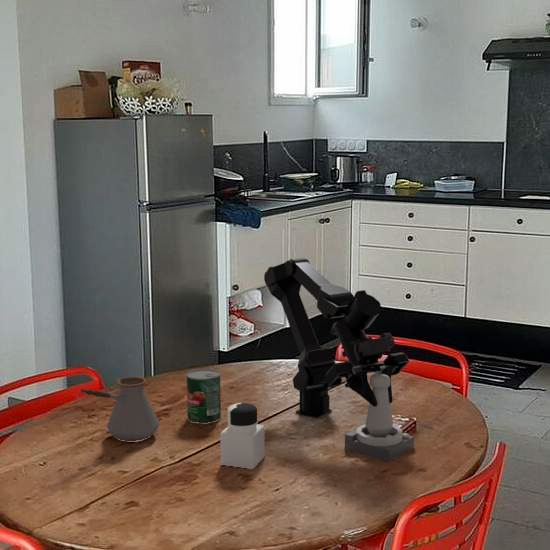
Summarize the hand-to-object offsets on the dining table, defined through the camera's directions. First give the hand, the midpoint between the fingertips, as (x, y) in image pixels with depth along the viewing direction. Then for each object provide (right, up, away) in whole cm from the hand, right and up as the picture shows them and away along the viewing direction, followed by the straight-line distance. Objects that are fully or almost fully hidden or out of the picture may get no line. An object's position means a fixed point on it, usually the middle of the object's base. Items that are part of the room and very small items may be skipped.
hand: (383, 404), depth 179 cm
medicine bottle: (-29, -11, -3) cm, 32 cm away
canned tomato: (-39, -7, +22) cm, 46 cm away
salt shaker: (-1, -7, +3) cm, 7 cm away
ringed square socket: (0, -10, +3) cm, 10 cm away
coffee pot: (-57, -10, +7) cm, 58 cm away
